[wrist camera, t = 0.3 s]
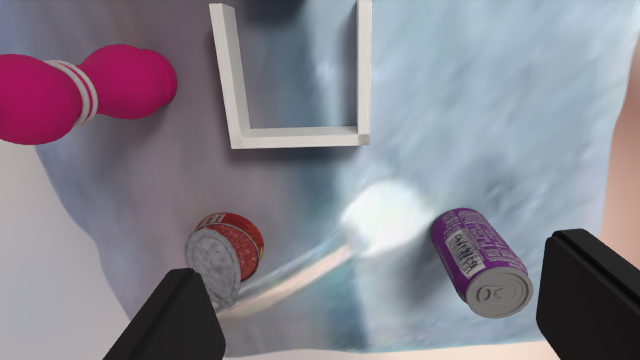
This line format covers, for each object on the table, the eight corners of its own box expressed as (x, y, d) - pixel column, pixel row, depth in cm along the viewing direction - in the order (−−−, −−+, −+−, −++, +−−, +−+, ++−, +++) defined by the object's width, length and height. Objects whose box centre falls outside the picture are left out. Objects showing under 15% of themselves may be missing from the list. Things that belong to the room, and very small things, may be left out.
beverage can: (428, 252, 44) (459, 323, 33) (430, 206, 41) (464, 266, 30) (482, 250, 43) (532, 321, 32) (488, 203, 40) (544, 263, 29)
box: (223, 8, 33) (208, 4, 30) (368, 0, 32) (372, -6, 29) (241, 138, 39) (231, 148, 35) (366, 135, 38) (369, 145, 34)
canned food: (240, 253, 51) (199, 309, 44) (199, 207, 47) (147, 261, 40) (290, 252, 44) (251, 318, 37) (248, 198, 40) (195, 261, 33)
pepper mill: (159, 33, 34) (-45, 20, 16) (193, 97, 37) (50, 148, 19) (106, 59, 36) (-138, 75, 17) (142, 119, 38) (-39, 187, 20)
